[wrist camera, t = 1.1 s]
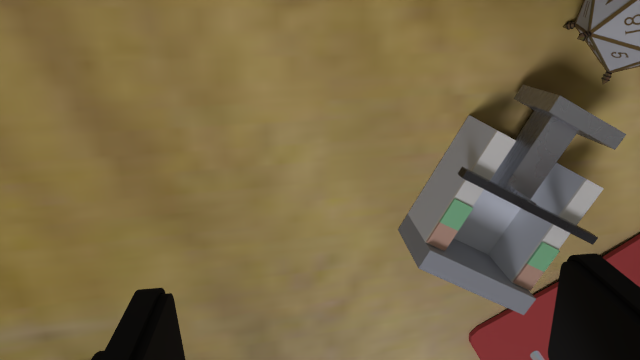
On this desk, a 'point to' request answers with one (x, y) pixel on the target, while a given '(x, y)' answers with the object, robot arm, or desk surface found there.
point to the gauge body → (490, 221)
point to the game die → (611, 33)
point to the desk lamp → (540, 317)
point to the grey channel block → (543, 152)
